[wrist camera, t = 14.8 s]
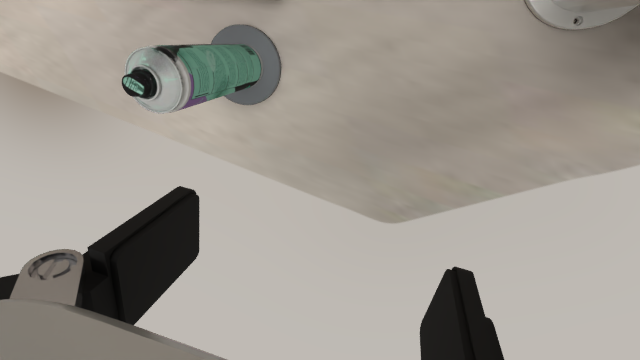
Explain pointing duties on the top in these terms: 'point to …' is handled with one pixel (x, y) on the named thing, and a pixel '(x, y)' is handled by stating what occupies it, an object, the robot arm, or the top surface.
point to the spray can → (189, 74)
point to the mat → (268, 56)
